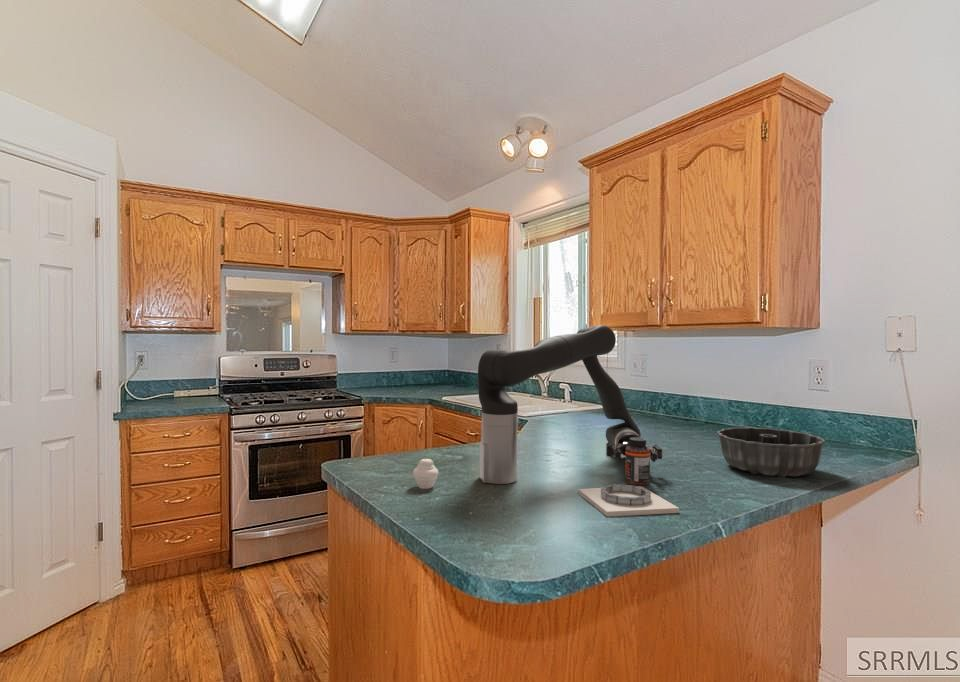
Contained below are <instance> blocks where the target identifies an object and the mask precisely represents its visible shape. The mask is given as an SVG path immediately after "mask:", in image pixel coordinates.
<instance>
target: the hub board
mask: <svg viewBox="0 0 960 682" xmlns="http://www.w3.org/2000/svg"><path fill="white" fill-rule="evenodd" d="M637 487H641V488H644V489H646V490H648V491H650V490H649V489H647V488H646V487H644V486H637ZM601 489H602V487H595V488H592V487H591V488H577V494H578V495H579V496H581V498H583V499H584V500H586V501H587V502H588V503H590V505H592V506H593V507H594V508H596V509H597V510H598V511H599V512H601V514H603V515H604V516H605V517H606V518H607V517H625V516H626V517H627V516H643V515H647V516H648V515H661V514H678V513H680V508H679V507H678V506H677V505H675V504H673V503H672V502H669V501H668V500H666V499H664V498H663V497H661V496H659V495H658V494H656V493H654V492H652V491H650V492H651V502H650V503H648V504H645V505H638V506H631V505H630V506H628V505H619V504H615V503H611V502H608V501H605V500H604V499H603V498H601ZM610 494H614V495H617V496H623V497H641V495H637V494H633V493H626V492H613V493H610Z"/></svg>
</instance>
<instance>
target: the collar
mask: <svg viewBox="0 0 960 682" xmlns="http://www.w3.org/2000/svg"><path fill="white" fill-rule="evenodd" d="M601 488H602V489H601V498H603V499H604V500H605V501H608V502H611V503H615V504H619V505H628V506H630V505H631V506H638V505H645V504H648V503H650V502H651V492H652V491H651V492H650V490H649V489H647V488H645V487H644V488H645V489H644V488H641V487H638V486H635V485H630V484H623V483H622V484H621V483H619V484H618V483H617V484H607V485H603V486H602V487H601ZM646 489H647V490H646ZM648 490H649V491H648ZM613 492H626V493H633V494H637V495H641V497H623V496H617V495H614V494H610V493H613Z"/></svg>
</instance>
